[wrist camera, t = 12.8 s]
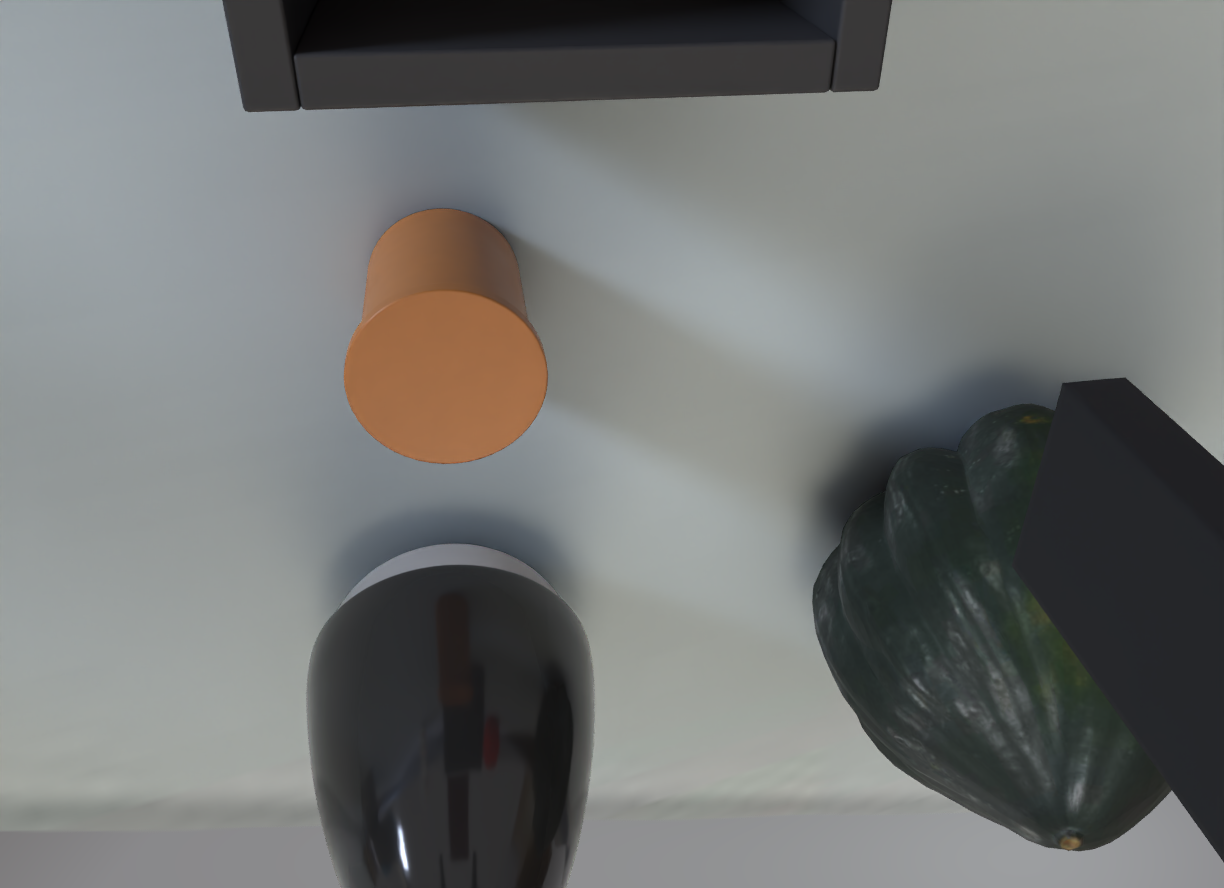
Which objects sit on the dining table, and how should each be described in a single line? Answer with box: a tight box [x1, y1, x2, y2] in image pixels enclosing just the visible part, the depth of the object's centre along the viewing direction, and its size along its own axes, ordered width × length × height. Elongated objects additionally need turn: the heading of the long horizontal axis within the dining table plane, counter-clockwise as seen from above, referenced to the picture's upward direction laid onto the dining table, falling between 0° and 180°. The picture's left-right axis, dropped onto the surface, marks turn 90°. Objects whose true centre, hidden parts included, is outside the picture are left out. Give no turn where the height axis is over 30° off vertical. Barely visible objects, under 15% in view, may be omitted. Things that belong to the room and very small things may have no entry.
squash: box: [812, 404, 1172, 851], centre depth 36 cm, size 14×15×15 cm
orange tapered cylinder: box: [344, 209, 548, 464], centre depth 30 cm, size 5×5×6 cm
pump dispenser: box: [306, 544, 594, 888], centre depth 34 cm, size 10×10×15 cm
